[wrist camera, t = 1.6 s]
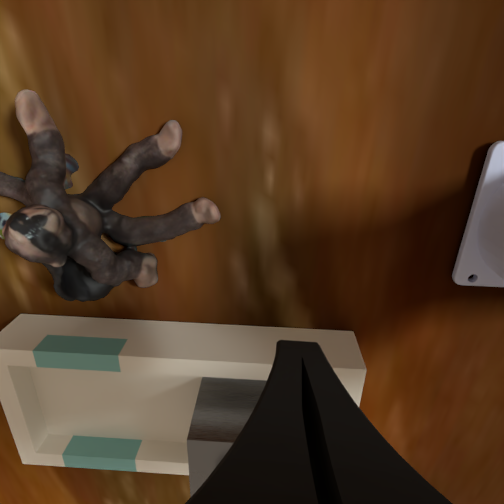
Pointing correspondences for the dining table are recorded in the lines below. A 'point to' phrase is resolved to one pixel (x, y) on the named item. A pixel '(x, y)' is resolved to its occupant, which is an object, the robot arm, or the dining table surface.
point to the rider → (218, 422)
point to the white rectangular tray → (133, 384)
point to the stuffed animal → (89, 210)
